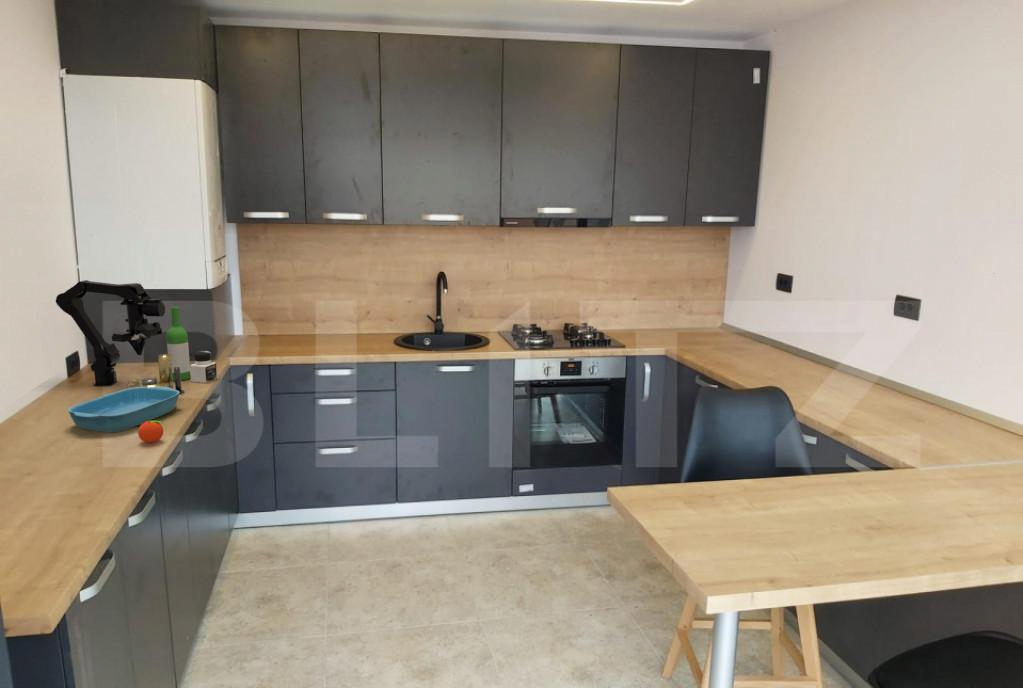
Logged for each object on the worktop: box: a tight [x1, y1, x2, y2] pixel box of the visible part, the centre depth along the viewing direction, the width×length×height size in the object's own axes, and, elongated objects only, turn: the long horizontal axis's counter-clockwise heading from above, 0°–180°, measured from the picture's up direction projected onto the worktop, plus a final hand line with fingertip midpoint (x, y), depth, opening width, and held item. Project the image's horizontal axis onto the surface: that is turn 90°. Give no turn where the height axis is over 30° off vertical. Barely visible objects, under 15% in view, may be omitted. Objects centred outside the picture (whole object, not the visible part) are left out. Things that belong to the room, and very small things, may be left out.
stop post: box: [174, 367, 185, 395], centre depth 261 cm, size 4×4×10 cm
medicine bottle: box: [190, 350, 218, 384], centre depth 279 cm, size 7×7×12 cm
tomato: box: [137, 420, 168, 444], centre depth 211 cm, size 8×7×7 cm
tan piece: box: [127, 353, 174, 389], centre depth 256 cm, size 14×15×12 cm
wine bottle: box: [166, 306, 191, 382], centre depth 278 cm, size 8×8×30 cm
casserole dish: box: [67, 387, 180, 433], centre depth 231 cm, size 37×22×7 cm, turn 167°
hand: (139, 355), depth 269 cm, fingers closed
